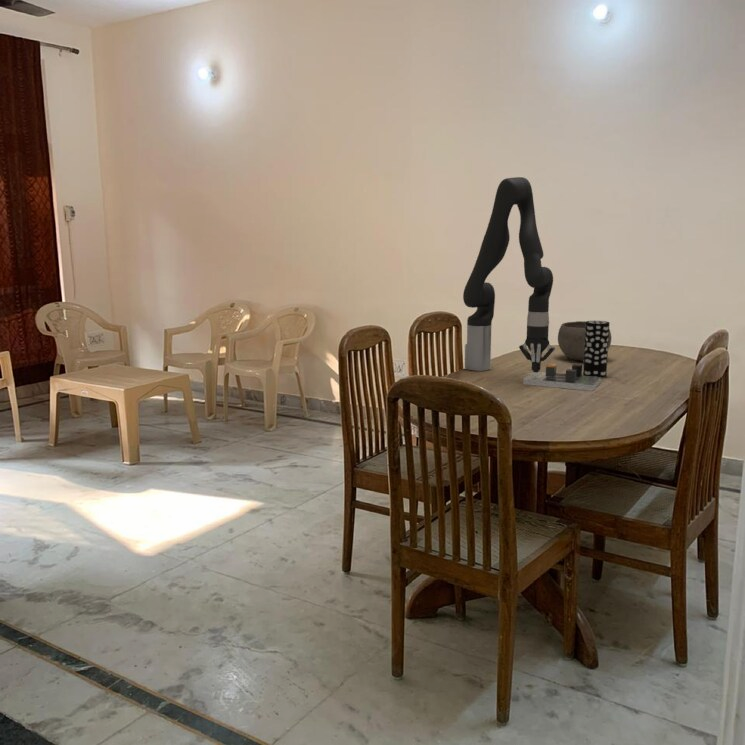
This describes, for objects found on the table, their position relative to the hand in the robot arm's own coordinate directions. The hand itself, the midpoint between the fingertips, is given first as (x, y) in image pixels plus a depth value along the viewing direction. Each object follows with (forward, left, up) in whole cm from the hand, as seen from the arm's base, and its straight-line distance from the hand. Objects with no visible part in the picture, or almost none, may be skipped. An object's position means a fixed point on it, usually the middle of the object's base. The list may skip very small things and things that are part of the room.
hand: (536, 371), depth 275 cm
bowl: (+7, +48, -4) cm, 49 cm away
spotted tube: (+17, +18, -4) cm, 25 cm away
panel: (+9, 0, -3) cm, 10 cm away
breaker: (+5, 0, -1) cm, 5 cm away
